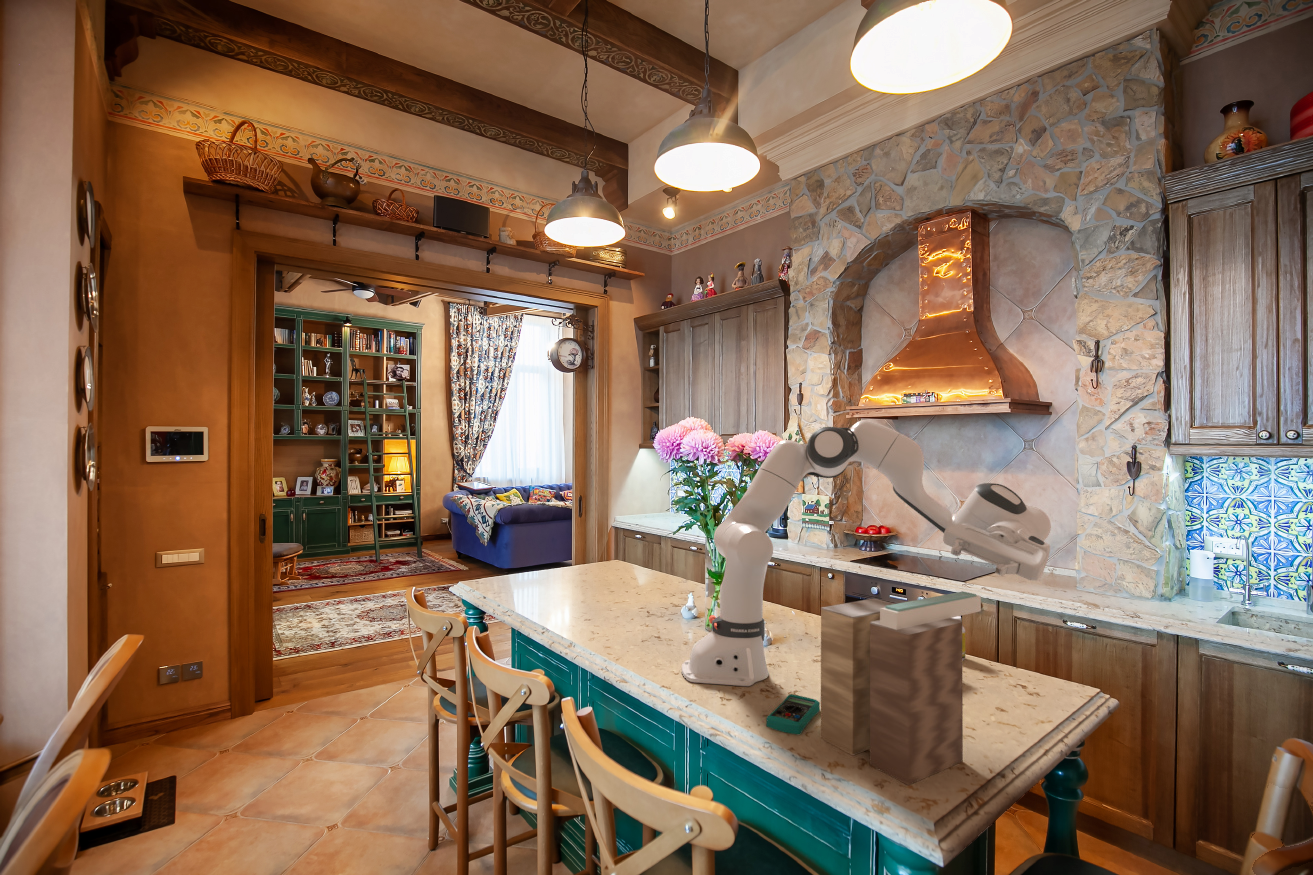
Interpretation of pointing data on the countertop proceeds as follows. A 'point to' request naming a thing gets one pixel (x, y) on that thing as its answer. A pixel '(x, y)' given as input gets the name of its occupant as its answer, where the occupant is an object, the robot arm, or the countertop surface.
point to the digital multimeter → (793, 714)
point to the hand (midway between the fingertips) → (976, 561)
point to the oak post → (847, 673)
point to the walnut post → (916, 699)
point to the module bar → (929, 610)
